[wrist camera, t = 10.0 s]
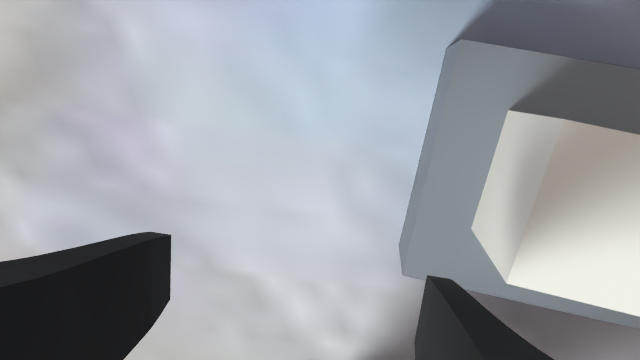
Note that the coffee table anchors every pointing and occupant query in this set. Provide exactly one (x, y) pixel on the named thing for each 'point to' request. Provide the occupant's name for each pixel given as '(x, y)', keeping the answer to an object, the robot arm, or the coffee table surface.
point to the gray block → (479, 148)
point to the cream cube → (564, 210)
